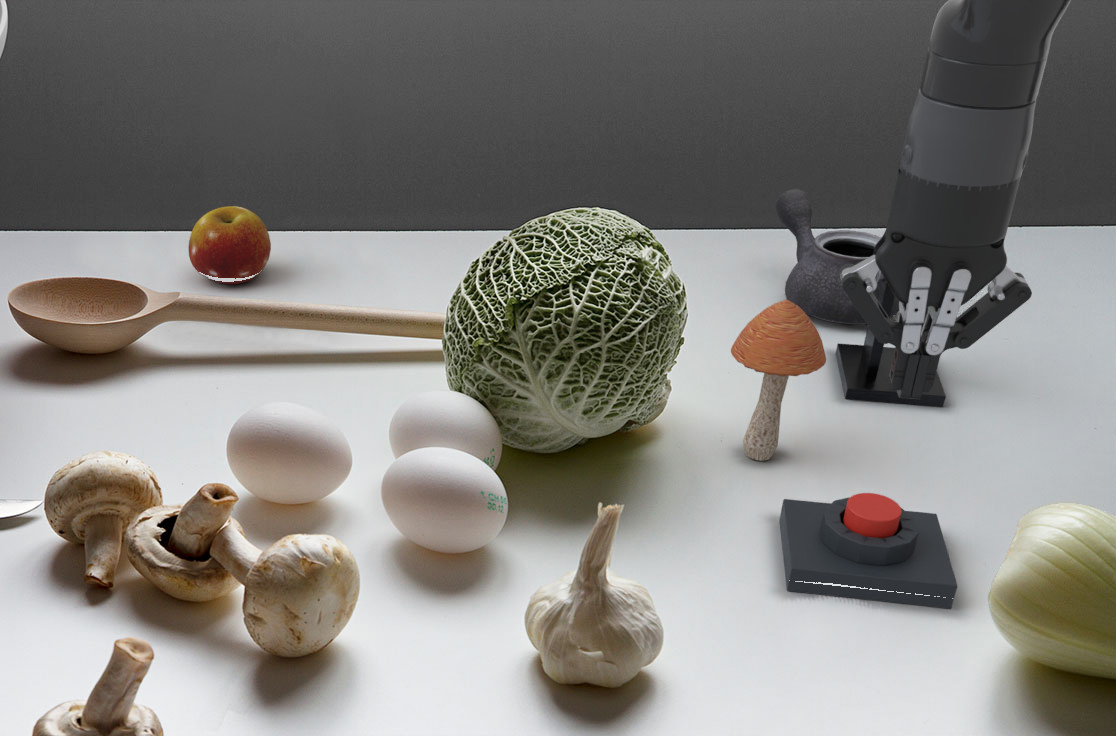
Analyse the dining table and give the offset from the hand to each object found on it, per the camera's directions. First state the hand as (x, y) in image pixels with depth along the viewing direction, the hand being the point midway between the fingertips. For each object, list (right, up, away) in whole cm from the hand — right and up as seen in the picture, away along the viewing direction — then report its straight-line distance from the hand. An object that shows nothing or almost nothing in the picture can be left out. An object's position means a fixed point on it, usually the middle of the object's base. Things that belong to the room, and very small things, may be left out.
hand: (907, 393), depth 95 cm
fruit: (-56, +18, +57) cm, 82 cm away
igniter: (-1, -10, +6) cm, 11 cm away
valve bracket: (+12, +4, +34) cm, 36 cm away
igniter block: (0, -13, +8) cm, 15 cm away
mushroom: (-4, -4, +22) cm, 23 cm away
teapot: (+12, +15, +51) cm, 55 cm away
